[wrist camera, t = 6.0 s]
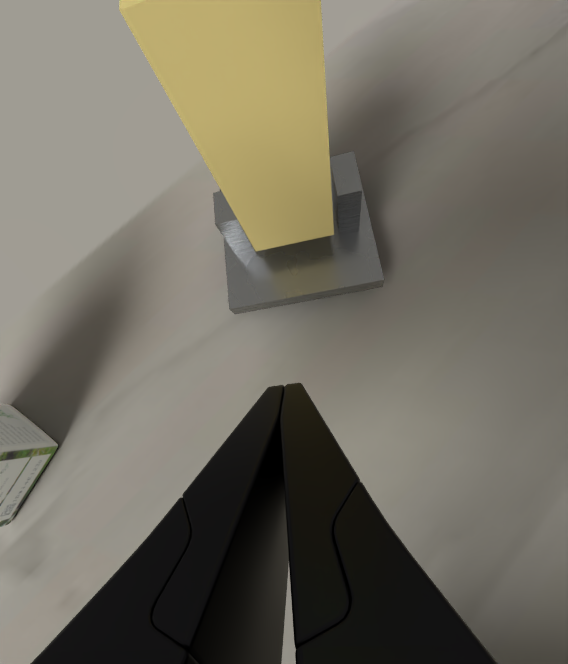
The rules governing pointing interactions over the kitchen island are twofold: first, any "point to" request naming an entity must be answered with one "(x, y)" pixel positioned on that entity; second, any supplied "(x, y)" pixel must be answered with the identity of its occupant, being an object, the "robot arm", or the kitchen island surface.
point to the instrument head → (249, 104)
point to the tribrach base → (304, 252)
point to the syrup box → (20, 459)
